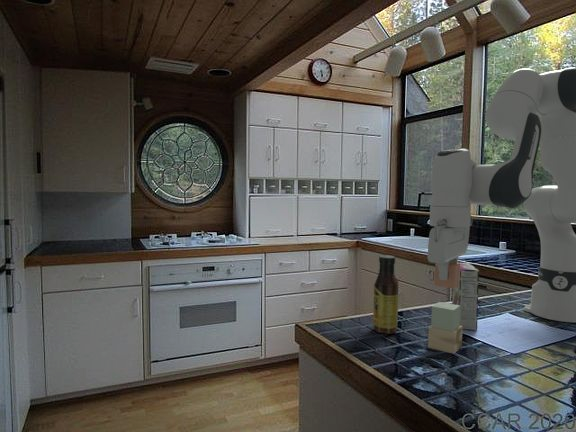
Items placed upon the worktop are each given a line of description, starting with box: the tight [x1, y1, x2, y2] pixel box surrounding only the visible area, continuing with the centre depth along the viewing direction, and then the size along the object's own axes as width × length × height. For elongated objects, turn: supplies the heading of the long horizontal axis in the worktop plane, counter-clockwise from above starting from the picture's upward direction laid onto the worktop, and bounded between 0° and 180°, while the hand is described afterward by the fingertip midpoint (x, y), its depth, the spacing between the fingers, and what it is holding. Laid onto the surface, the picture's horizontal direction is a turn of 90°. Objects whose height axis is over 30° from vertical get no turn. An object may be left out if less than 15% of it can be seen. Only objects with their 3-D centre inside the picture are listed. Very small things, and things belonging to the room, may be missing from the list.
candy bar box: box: [451, 262, 480, 331], centre depth 118 cm, size 11×5×16 cm, turn 168°
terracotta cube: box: [434, 263, 461, 289], centre depth 100 cm, size 4×4×5 cm
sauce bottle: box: [372, 254, 399, 335], centre depth 111 cm, size 7×6×20 cm
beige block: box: [427, 325, 463, 355], centre depth 101 cm, size 6×6×5 cm
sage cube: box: [430, 301, 460, 332], centre depth 100 cm, size 5×5×5 cm
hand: (447, 277), depth 100 cm, fingers closed on terracotta cube, 4 cm apart
